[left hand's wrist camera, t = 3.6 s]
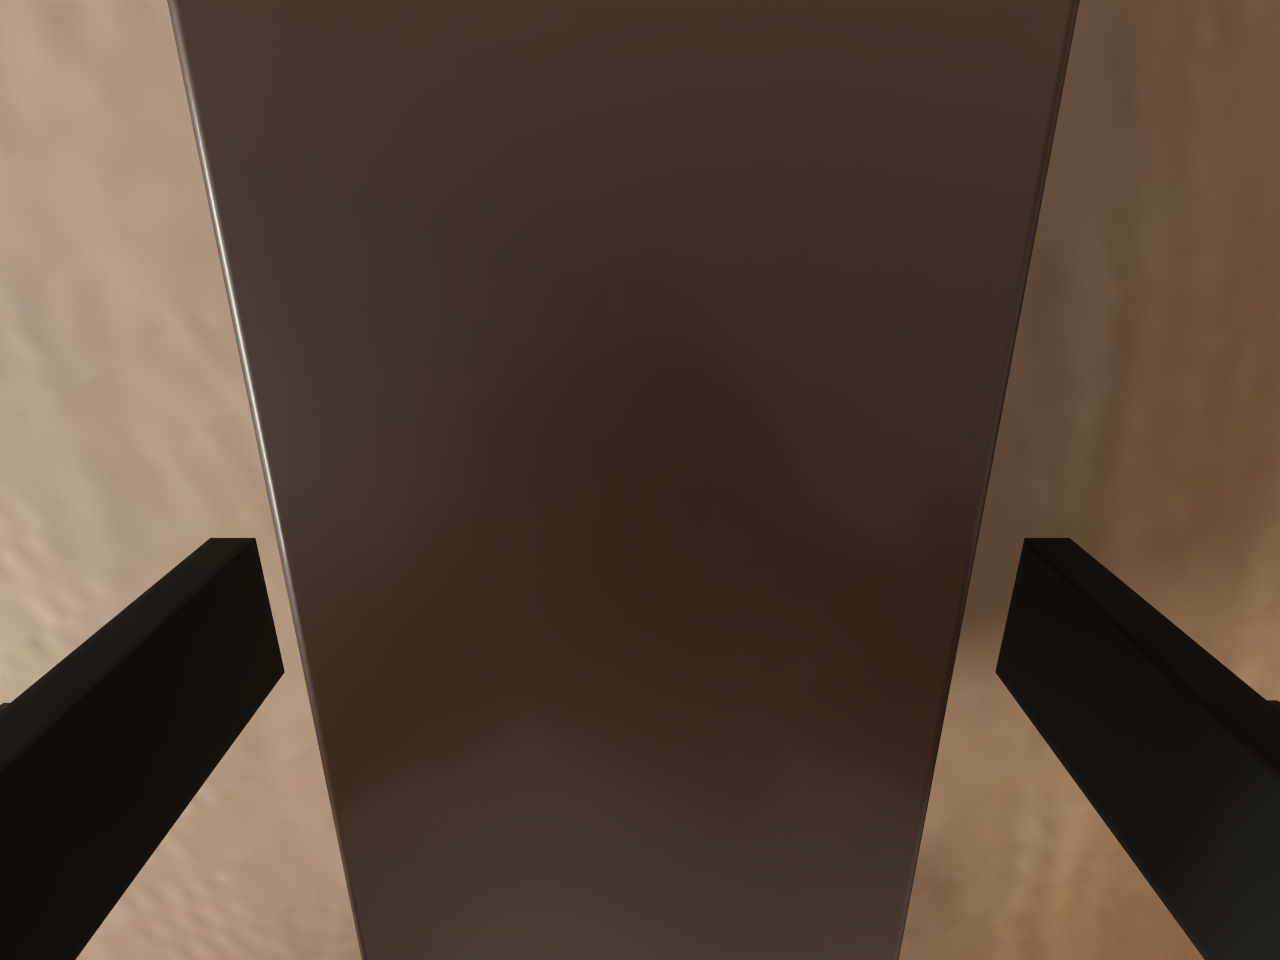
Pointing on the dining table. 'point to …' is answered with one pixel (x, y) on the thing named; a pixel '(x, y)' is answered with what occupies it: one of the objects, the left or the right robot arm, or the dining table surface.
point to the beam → (626, 438)
